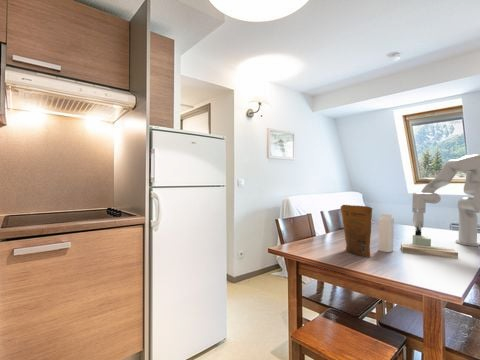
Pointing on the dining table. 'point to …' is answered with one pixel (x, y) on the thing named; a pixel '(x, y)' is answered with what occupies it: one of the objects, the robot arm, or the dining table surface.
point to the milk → (386, 233)
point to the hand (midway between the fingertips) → (418, 237)
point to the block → (421, 240)
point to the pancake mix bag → (357, 229)
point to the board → (429, 250)
